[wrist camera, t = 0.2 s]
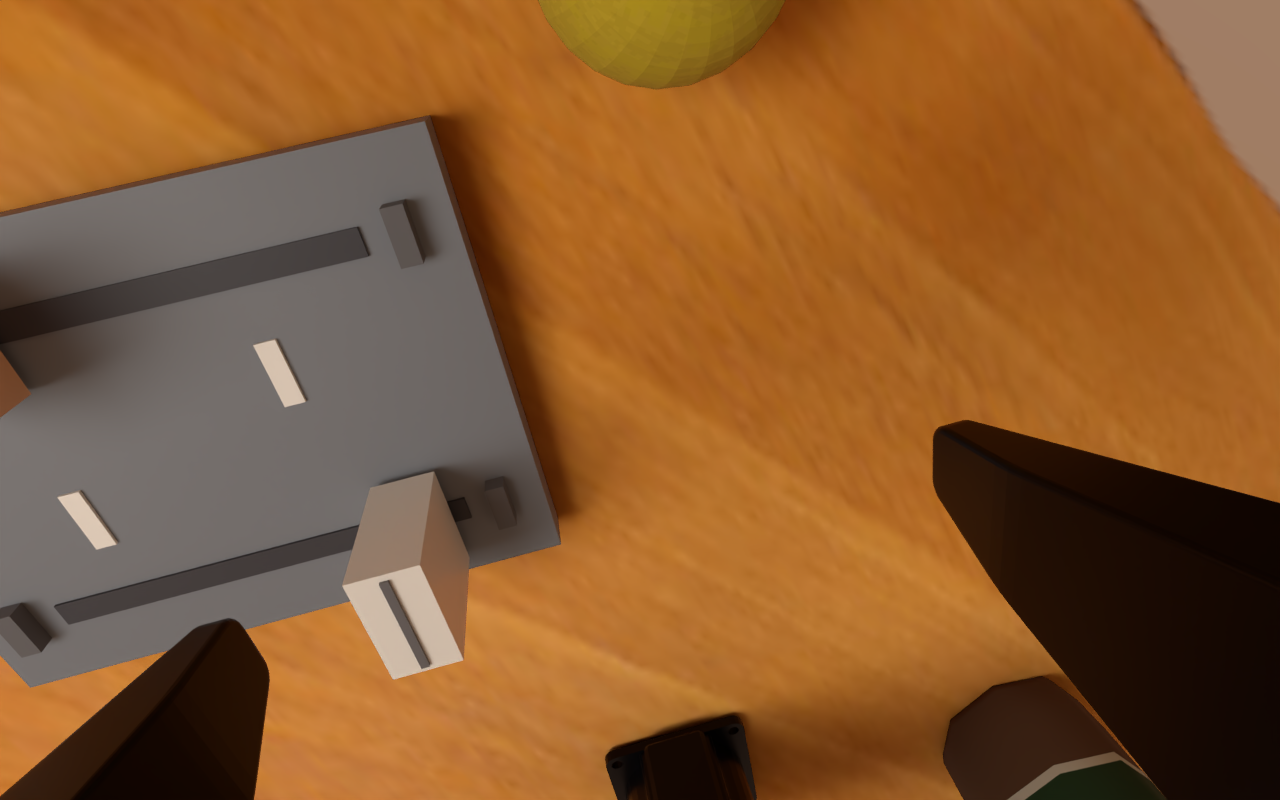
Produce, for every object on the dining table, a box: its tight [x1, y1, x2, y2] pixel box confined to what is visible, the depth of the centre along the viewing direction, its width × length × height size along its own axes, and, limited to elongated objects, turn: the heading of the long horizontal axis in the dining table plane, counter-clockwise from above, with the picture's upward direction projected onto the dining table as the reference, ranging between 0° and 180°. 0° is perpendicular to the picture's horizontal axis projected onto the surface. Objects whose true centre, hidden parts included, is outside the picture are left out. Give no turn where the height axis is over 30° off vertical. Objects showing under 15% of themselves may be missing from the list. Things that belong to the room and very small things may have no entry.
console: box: [0, 115, 561, 688], centre depth 21 cm, size 14×18×2 cm
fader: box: [342, 471, 470, 680], centre depth 20 cm, size 4×2×4 cm, turn 11°
